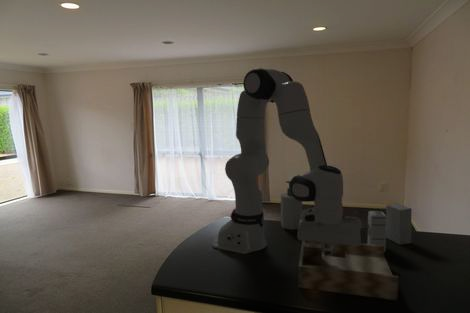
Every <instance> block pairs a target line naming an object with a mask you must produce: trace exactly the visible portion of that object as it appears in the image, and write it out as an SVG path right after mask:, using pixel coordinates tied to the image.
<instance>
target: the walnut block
mask: <svg viewBox="0 0 470 313" xmlns="http://www.w3.org/2000/svg"><path fill="white" fill-rule="evenodd" d="M303 264H307V265H316V266H322V248H321V246H320V244H315V243H304V249H303Z"/></svg>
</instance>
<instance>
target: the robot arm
mask: <svg viewBox="0 0 470 313" xmlns="http://www.w3.org/2000/svg"><path fill="white" fill-rule="evenodd" d="M269 103H272V104H273V103H275V105H276V110H277V116H278V122H279V123H278V124H279V126H280V129H281V132H282V133H283V134H284V135H285V136H286V137H287V138H289V139H291V140H293V141H295V142H297V143H298V144H300V145H301V146H302V147H303V149H304V152H305V154H306V158H307V162H308V165H309V171H307V172H304V173H300V174H297V175H294V176H293V177H292V178H291V180H290V181H291V182H290V192H291V194H292V196H293V197H294V198H295V199H296V200H298V201H302V203H303V202H305V203H308V202H309V203H310V202H313V203H314V206H313V207H310V208H306V209H302V213H301V219H300V221H299V226H298V229H297V234H296V236H297V237H296V238H297V240H298V241H300V242H302V241H309V242H320V246H321V248H322V249H323V255H330V256H332V251H333V250H334V249H335V247H336V244H343V245H354V246H358V245H359V244H360V243H361V242H362V238H361V230H362V228H363V222H362V219H361V218H358V217H357V216H348V215H343V213H344V206H343V201H342V200H343V196H344V179H343V178H344V177H343V173H342V171H341V170H340V169H339V168H337V167H335V166H332V165H328V164H327V163H328V162H327V159H326V156H325V152H324V148H323V145H322V142H321V138H320V135H319V133H318V131H317V129H316V127H315V125H314V122H313V118H312V114H311V109H310V103H309V99H308V96H307V93H306V91H305V88H304V86H303V84H302V83H301V82H300V81H299V82H298V81H296V80H295V81H294V80H293V78H292V77H291V75H290V74H288V73H287V72H284V71H279V70H277V69H272V68H270V69H269V68H262V67H261V68H260V67H259V68H253V69H251V70H249V71H248V72H247V73H246V75H245V76H244V79H243V91H241V92H240V95H239V97H238V102H237V109H236V124H235V126H236V128H235V129H236V130H235V136H236V139H237V140H238V142H239V145H240V146H239V147H240V153H238V154H235V155H234V156H232V157H230V158H229V159H228V160H227V162H226V163H225V166H224V170H225V171H224V172H225V175H226V177H227V178H228V179H229V181H230V182H231V183H232V187H233V192H234V197H235V199H234V202H235V208H234V209H232V212H231V213H230V220H229V221H228V222H226V223H225V224H223V225H222V226H221V227H220V229H219V231H218V235H217V236H216V237H215V238H214V240H213V241H212V247H213V248H214V249H219V250H223V251H229V252H233V253H237V254H242V255H245V254H246V255H247V254H249V253H252V252H258V251H261V250H263V249H265V248H266V246H267V240H266V237H265V231H264V224H265V223H264V222H265V215H264V211H263V193H262V191H261V189H260V188H259V183H258V177H259V176H261V175H262V174H264V173H265V172H266V171H267V169H268V168H269V166H270V165H269V164H270V160H269V157H268V155H267V151H266V144H265V118H266V106H267V105H268V104H269ZM324 243H331V248H330V249H328V248H325V247H324ZM361 244H362V243H361Z"/></svg>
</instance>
